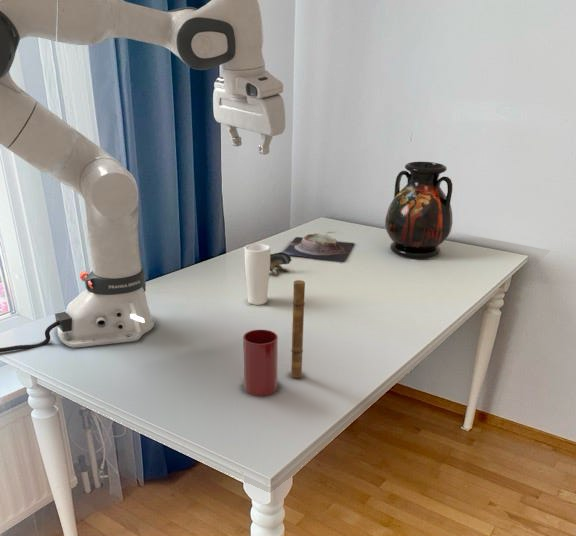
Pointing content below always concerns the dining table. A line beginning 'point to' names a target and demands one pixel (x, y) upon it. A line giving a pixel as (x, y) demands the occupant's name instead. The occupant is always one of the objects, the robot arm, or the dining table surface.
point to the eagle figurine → (279, 261)
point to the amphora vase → (420, 212)
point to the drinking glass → (257, 272)
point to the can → (260, 362)
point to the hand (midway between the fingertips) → (250, 149)
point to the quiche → (319, 247)
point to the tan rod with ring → (297, 328)
